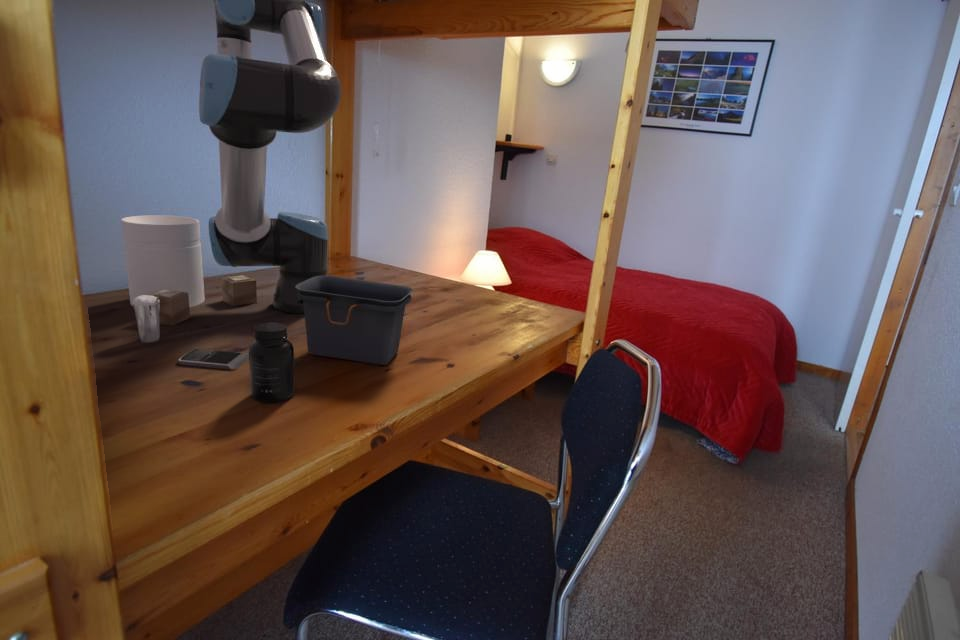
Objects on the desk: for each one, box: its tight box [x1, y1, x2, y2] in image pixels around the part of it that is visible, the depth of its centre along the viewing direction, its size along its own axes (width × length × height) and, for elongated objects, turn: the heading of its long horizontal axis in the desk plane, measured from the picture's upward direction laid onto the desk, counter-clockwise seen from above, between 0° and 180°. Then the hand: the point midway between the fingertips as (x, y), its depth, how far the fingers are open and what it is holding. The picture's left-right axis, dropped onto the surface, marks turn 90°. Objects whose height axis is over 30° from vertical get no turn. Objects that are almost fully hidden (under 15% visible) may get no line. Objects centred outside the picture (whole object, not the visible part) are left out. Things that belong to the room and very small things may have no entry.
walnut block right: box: [221, 275, 258, 307], centre depth 136 cm, size 6×6×6 cm
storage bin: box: [295, 274, 414, 366], centre depth 106 cm, size 21×16×14 cm
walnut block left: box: [149, 290, 191, 326], centre depth 118 cm, size 6×6×6 cm
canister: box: [120, 214, 206, 308], centre depth 129 cm, size 16×16×20 cm
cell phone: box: [177, 348, 249, 370], centre depth 100 cm, size 6×11×1 cm, turn 88°
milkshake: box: [132, 294, 161, 343], centre depth 106 cm, size 4×5×10 cm
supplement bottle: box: [248, 322, 296, 404], centre depth 87 cm, size 7×7×12 cm
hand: (239, 162), depth 136 cm, fingers closed
